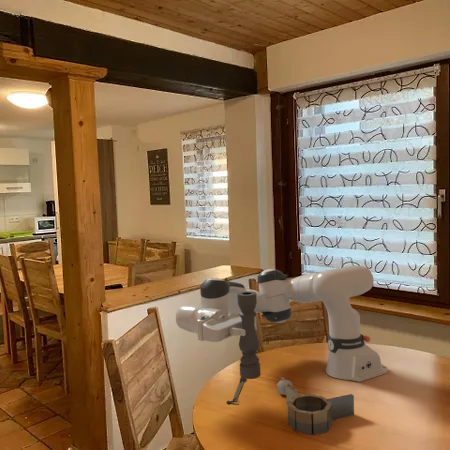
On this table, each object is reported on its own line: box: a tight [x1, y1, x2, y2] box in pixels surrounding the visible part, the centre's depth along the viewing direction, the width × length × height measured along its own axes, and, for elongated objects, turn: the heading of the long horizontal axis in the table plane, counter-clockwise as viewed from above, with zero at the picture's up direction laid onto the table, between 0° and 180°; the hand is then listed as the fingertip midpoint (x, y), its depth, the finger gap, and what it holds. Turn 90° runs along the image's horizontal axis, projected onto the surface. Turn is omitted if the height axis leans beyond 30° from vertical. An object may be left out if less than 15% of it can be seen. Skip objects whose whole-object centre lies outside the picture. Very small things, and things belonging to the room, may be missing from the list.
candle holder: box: [237, 291, 262, 380], centre depth 141 cm, size 6×6×25 cm
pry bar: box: [226, 376, 246, 406], centre depth 161 cm, size 21×7×1 cm, turn 166°
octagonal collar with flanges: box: [285, 384, 355, 436], centre depth 142 cm, size 20×20×6 cm
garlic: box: [276, 377, 294, 396], centre depth 157 cm, size 6×5×5 cm
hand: (250, 330), depth 140 cm, fingers closed on candle holder, 3 cm apart
